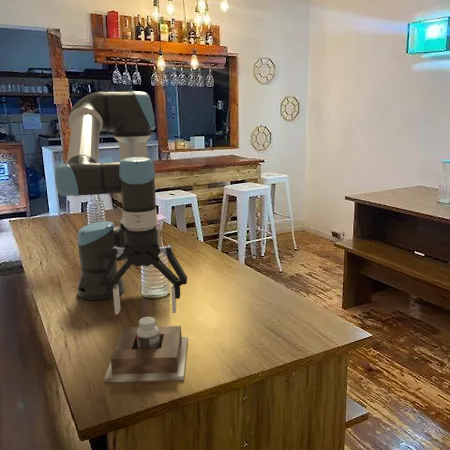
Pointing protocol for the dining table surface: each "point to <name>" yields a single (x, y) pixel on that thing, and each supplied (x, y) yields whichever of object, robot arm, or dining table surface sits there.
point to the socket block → (148, 357)
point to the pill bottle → (148, 334)
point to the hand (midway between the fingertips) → (146, 311)
